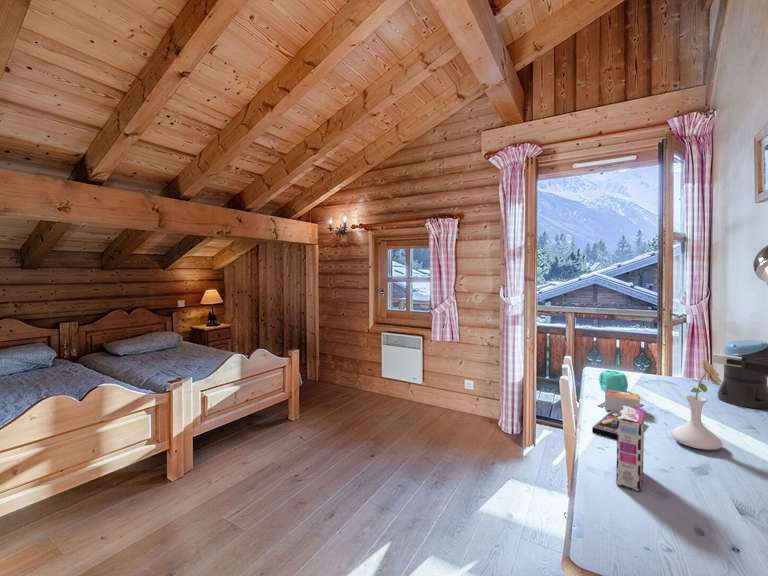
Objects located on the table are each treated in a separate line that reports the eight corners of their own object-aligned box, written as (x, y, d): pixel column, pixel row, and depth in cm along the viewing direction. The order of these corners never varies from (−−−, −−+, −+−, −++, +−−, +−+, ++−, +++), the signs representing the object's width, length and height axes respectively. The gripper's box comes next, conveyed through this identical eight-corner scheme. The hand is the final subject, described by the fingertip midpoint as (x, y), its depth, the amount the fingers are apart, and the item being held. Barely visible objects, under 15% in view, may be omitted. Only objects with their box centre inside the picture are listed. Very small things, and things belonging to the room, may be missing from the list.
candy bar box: (641, 493, 82) (641, 423, 81) (615, 485, 85) (615, 418, 84) (644, 471, 90) (644, 408, 90) (621, 465, 94) (621, 404, 93)
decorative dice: (606, 394, 148) (606, 375, 148) (598, 388, 156) (598, 370, 156) (628, 394, 147) (628, 375, 147) (618, 388, 155) (618, 370, 155)
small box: (640, 400, 124) (604, 395, 130) (640, 415, 125) (604, 410, 130) (638, 393, 131) (605, 389, 137) (638, 408, 131) (605, 403, 137)
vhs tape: (592, 427, 113) (610, 411, 126) (592, 434, 113) (610, 417, 126) (628, 436, 106) (644, 418, 119) (628, 444, 106) (644, 425, 119)
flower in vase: (703, 456, 97) (704, 366, 96) (661, 438, 108) (661, 357, 107) (737, 449, 100) (737, 362, 100) (692, 432, 111) (692, 353, 111)
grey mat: (614, 398, 143) (614, 397, 143) (643, 405, 135) (643, 404, 135) (597, 406, 135) (597, 405, 135) (627, 414, 127) (627, 413, 127)
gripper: (830, 394, 89) (707, 374, 109) (835, 383, 97) (719, 366, 116) (831, 365, 89) (707, 349, 108) (836, 356, 96) (719, 343, 116)
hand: (713, 358), depth 112 cm, fingers closed
